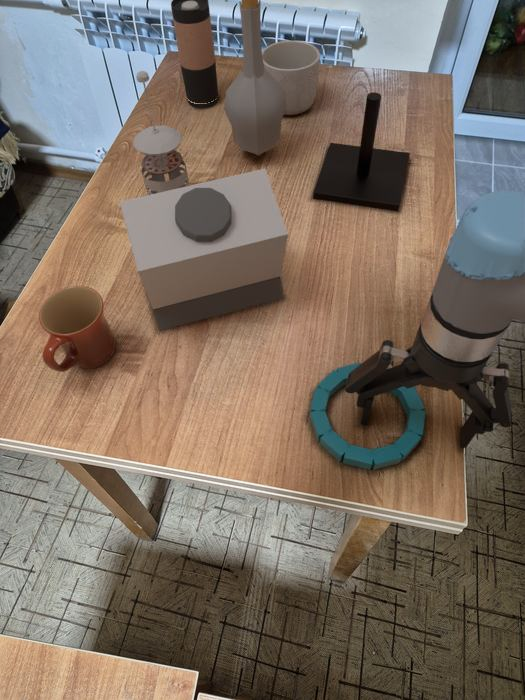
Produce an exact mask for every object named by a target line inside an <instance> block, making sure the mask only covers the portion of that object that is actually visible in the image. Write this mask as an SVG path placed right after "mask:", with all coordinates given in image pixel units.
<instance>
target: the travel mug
mask: <svg viewBox="0 0 525 700" xmlns="http://www.w3.org/2000/svg"><path fill="white" fill-rule="evenodd" d="M209 4H210V3H209V0H171V2H170V7H171V14H172V21H173V26H174V27H173V28H174V34H175V40H176V46H177V53H178V59H179V65H180V71H181V75H182V80H183V81H182V82H183V85H184V90H185V95H186V100H187V103H188V105H189V106H191V107H193V108H196V109H207V108H210V107H212V106H215V105H216V104H217V103H218V101H219V89H218V88H219V87H218V76H217V75H218V74H217V63H216V54H215V46H214V37H213V30H212V29H213V28H212V21H211V12H210V5H209ZM217 96H218V97H217ZM187 98H188V99H189V100H190V101H192V102H195V103H207V104H194V103H191V102H190V101H188V99H187ZM216 98H217V99H216ZM215 99H216V100H215ZM213 100H214V101H213ZM211 101H213V102H211ZM208 102H210V103H208Z"/></svg>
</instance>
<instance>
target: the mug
mask: <svg viewBox="0 0 525 700" xmlns="http://www.w3.org/2000/svg"><path fill="white" fill-rule="evenodd" d="M104 308H105V307H104V300H103V298H102V296H101V294H100V293H99V292H98V290H96V289H94V288H92V287H90V286H85V285H72V286H66V287H64V288H61V289H59V290H57V291H55V292H54V293H52V294H50V296H48V297H47V299H46V300H44V302H43V303H42V305H41V307H40V309H39V312H38V320H39V324H40V326H41V328H42V330H44V331H45V332H47V334H49V337H48V340H47V343H46V344H45V346H44V348H43V351H42V360H43V362H44V363H45V365H46V366H47V367H48V368H49V369H51V370H53V371H55V372H60V373H64V372H67V371H69V370H70V369H72V368H73V367H75V366H77V367H79V368H82V369H89V370H90V369H94V368H98V367H101V366H102V365H104V364H106V363H107V362H108V361H109V360H110V359H111V358H112V357H113V355H114V354H115V351H116V347H117V346H116V338H115V334H114V332H113V330H112V327H111V326H110V324H109V322H108V320H107V319H106V317H105V313H104ZM59 347H60V348H61V349H62V350H63V352H64V354H65V356H64V359H63V361H61V362H60V363H58V362H57V361H56V359H55V354H56V351H57V350H58V348H59Z"/></svg>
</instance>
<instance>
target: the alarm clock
mask: <svg viewBox="0 0 525 700" xmlns="http://www.w3.org/2000/svg"><path fill="white" fill-rule="evenodd" d="M119 206H120V209H121V213H122V216H123V220H124V225H125V229H126V231H127V235H128V240H129V244H130V248H131V251H132V255H133V257H134V262H135V266H136V270H137V273H138V275H139V279H140V280H141V283H142V285H143V288H144V291H145V293H146V295H147V298H148V301H149V303H150V306H151V308H152V311H153V315H154V319H155V321H156V324H157V328H158V331H159V332H160V331H165V330H169V329H172V328H177V327H179V326H183V325H187V324H191V323H194V322H199V321H202V320H205V319H210V318H213V317H217V316H221V315H224V314H229V313H233V312H235V311H240V310H244V309H247V308H251V307H255V306H258V305H262V304H267V303H270V302H274V301H277V300H281V299H284V294H283V286H282V278H281V277H282V272H283V266H284V260H285V254H286V250H287V249H286V248H287V243H288V239H289V238H288V237H289V232H288V229H287V227H286V224H285V221H284V218H283V215H282V213H281V210H280V206H279V204H278V201H277V199H276V195H275V192H274V190H273V187H272V184H271V181H270V178H269V176H268V173H267V170H266V168H262V169H257V170H252V171H249V172H243V173H239V174H235V175H230V176H226V177H222V178H217V179H213V180H207V181H203V182H200V183H196V184H191V185H190V186H188V185H187V186H186V187H182V188H177V189H173V190H169V191H164V192H160V193H155V194H151V195H148V194H146V195H143V196H138V197H134V198H130V199H124V200H120V201H119Z"/></svg>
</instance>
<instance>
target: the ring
mask: <svg viewBox="0 0 525 700" xmlns="http://www.w3.org/2000/svg"><path fill="white" fill-rule="evenodd" d="M360 364H362V362H356V363H353V364H348V365H343V366H340V367H337V368H336V369H333V370H332V371H331V372H330V373H328V374H327V375H326V376H325V377H324V378H323V379H322V380H321V381H320V382H319V383H317V385H316V387H315V389H314V394H313V397H312V401H311V405H310V408H309V409H310V410H309V420H310V424H311V426H312V429H313V432H314V435H315V438H316V440H317V442H319V445H320V446H321V447H322V448H323V449H324V450H326V451H327V452H328V453H329V454H330V455H331V456H332V457H334V458H335V459H336V460H337V461H338V462H342V464H344V465H348V466H352V467H356V468H360V469H363V470H364V469H365V470H368V471H371V469H372V470H373V471H375V470H379V469H383V468H386V467H391V466H394V465H398V464H400V462H403V461H404V460H405V459H406V458H407V457H408V456H409V455H410V454H411V453H412V452H413V450H415V448H416V447H417V446H418V445H419V443H420V441H421V440H422V437H423V435H424V428H425V420H426V408H425V405H424V403H423V402H422V400H421V397H420V395H419V394H418V391H417V390H416V388H415V387H416V386H414V387H411V388H406V387H401V388H398V389H395V390H392V391H389V392H390V393H391V394H392V395H394V396H395V397H397V398H398V399H399V401H400V404H401V406H402V408H403V410H404V412H405V414H406V424H405V430H404V433H403V434H402V435H401V436H400V437H398V439H397V440H396V441H395V442H394V443H392V444H388V445H386V446H381V447H377V448H374V449H370V448H366V447H362V446H358V445H353V444H350V443H348V442H347V441H346V440H345V439H344V438H343V437H341V436H340V435H339V434H338V433H337V432H336V431H334V430H333V428H332V426H331V423H330V420H329V417H328V415H327V414H328V413H327V407H328V403H329V399H330V398H331V397H332V396H333V395H335V393H336V392H338V391H339V390H340V389H341V388H342V387H344V386H346V384H347V379H348V374H349V373H350V372H351V371H353V370H354V369H355V368H356V367H358V366H359V365H360ZM387 369H389V368H387ZM387 369H386V370H387Z"/></svg>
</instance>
